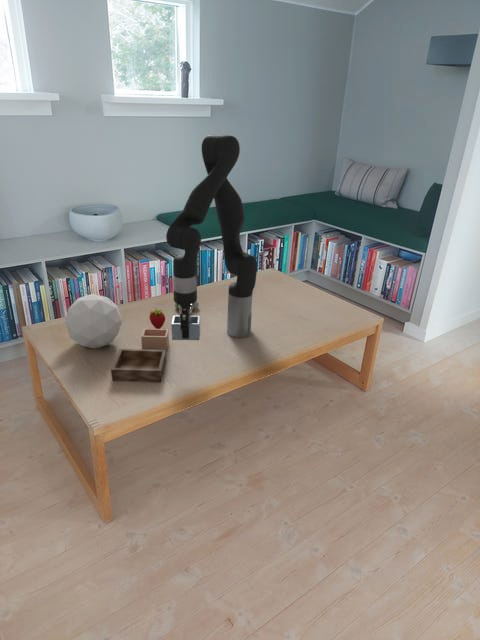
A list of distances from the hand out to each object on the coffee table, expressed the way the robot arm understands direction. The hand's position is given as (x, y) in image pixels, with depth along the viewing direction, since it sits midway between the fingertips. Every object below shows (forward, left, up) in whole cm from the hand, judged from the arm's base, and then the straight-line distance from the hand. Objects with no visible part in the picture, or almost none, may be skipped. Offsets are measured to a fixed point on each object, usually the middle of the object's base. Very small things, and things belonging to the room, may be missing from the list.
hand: (186, 332), depth 156 cm
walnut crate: (+15, +4, -13) cm, 21 cm away
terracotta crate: (+12, -12, -13) cm, 22 cm away
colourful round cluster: (+4, -45, -13) cm, 47 cm away
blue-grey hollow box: (0, 0, -1) cm, 1 cm away
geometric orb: (+34, -13, -13) cm, 39 cm away
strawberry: (+13, -25, -13) cm, 31 cm away
